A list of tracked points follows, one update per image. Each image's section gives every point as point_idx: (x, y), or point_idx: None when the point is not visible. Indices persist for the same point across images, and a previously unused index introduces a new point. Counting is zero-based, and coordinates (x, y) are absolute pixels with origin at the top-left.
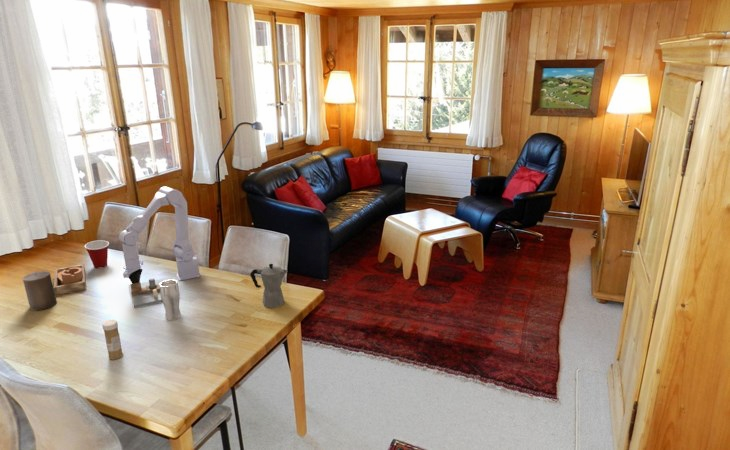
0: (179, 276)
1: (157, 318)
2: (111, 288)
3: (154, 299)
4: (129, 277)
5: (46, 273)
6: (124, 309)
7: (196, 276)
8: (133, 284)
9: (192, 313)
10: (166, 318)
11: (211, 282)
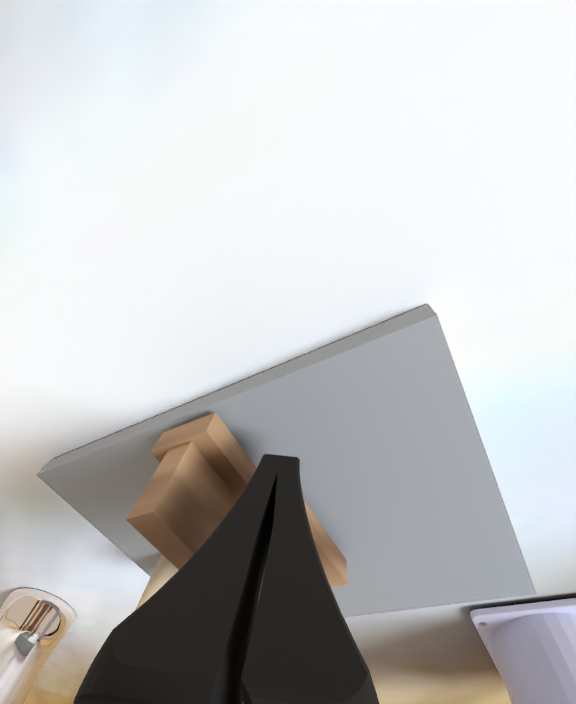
0: (523, 630)
1: (8, 565)
2: (472, 25)
3: (149, 555)
4: (177, 585)
5: None
6: (15, 408)
7: (499, 672)
8: (155, 539)
9: (94, 645)
10: (4, 601)
11: (401, 693)
